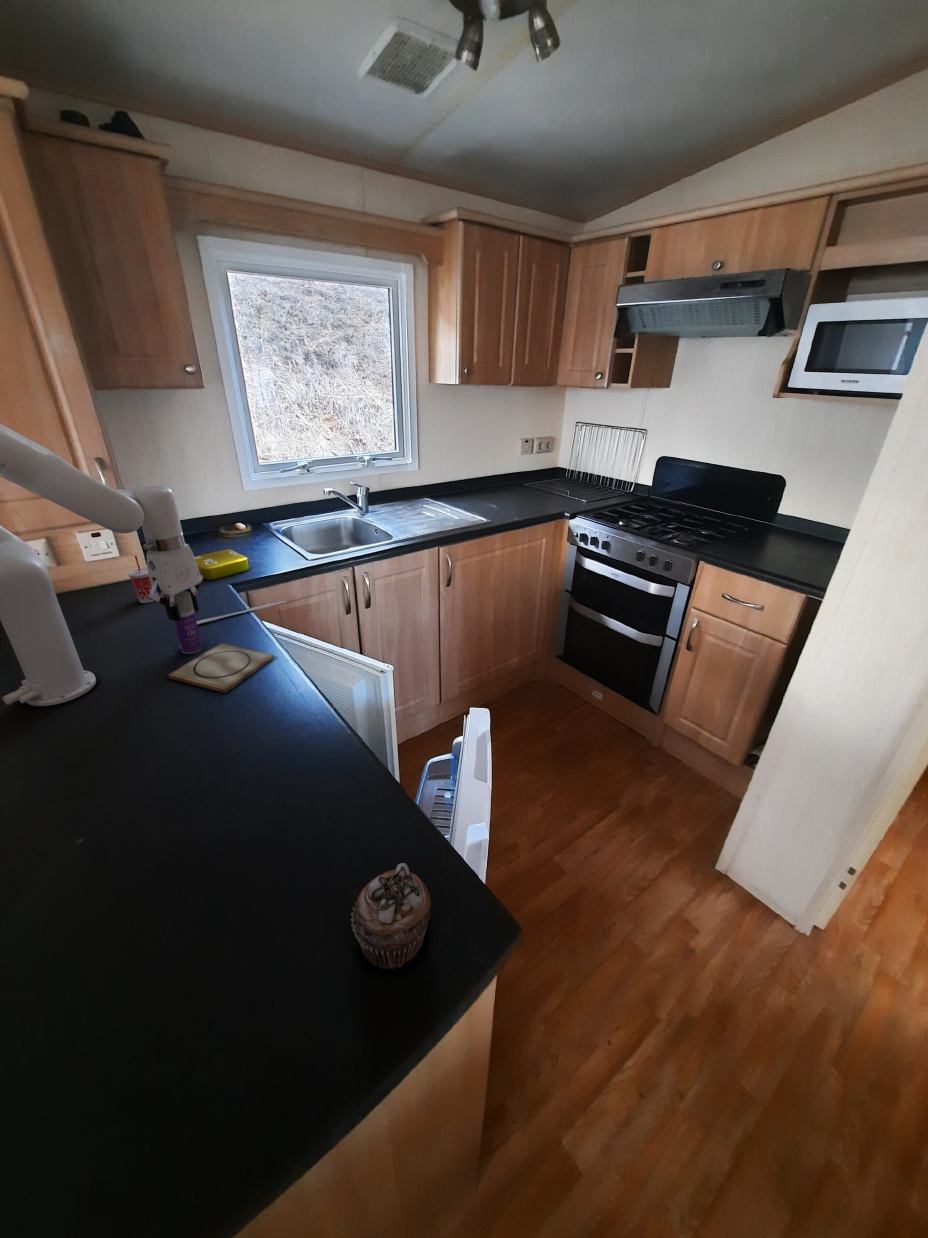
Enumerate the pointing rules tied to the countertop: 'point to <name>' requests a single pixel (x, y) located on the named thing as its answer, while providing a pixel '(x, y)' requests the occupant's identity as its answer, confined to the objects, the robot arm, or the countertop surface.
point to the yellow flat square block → (221, 564)
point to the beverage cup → (141, 583)
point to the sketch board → (221, 667)
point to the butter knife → (237, 613)
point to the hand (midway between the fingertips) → (184, 614)
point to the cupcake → (392, 917)
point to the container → (187, 624)
